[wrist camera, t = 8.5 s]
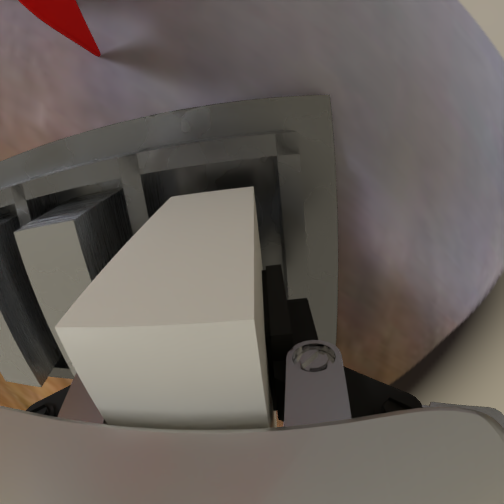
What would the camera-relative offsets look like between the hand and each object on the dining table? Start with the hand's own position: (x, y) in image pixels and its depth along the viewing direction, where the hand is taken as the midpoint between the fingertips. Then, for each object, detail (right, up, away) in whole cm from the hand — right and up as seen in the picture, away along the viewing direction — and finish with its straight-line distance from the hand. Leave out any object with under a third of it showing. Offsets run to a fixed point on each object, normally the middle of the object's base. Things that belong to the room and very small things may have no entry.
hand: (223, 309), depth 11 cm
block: (0, +1, +2) cm, 2 cm away
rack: (-6, +1, +5) cm, 8 cm away
